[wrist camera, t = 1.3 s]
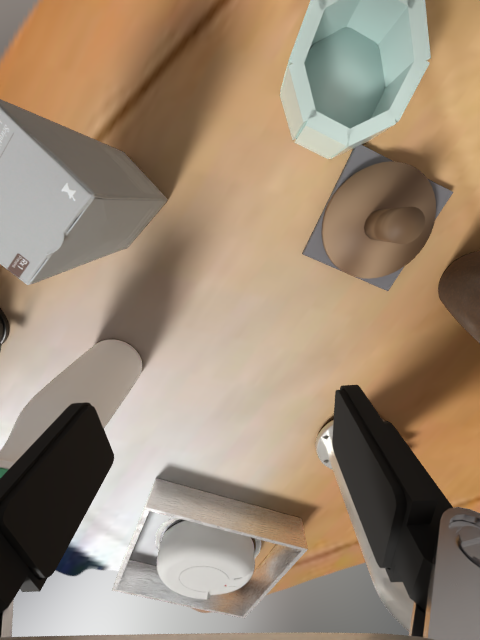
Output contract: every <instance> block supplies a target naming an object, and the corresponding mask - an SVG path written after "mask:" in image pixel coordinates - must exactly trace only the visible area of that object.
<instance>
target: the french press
mask: <svg viewBox="0 0 480 640" xmlns="http://www.w3.org/2000/svg"><path fill="white" fill-rule="evenodd" d="M8 334H9V326H8V321H7V319H6V316H5V315H4V313H3V311H2V310H1V308H0V351H1V345H2V344H3V343H4V342H5V341H6V339H7V337H8Z"/></svg>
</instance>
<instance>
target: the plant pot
mask: <svg viewBox="0 0 480 640" xmlns="http://www.w3.org/2000/svg"><path fill="white" fill-rule="evenodd" d="M438 292H439V297H440V300H441V301H442V303H443V304H444V305H445V307H446V308H447V309H448V311H449V312H450V313H451V314H452V316H453V317H454V318H455V319H456V320H457V321H458V322H459V323H460V324H461V326H462V327H463V328H464V329H465V330H466V331H467V332H468V333H469V334H470V335H471V336H472V337H473V338H474V339H475V340H477V341H478V342H479V343H480V251H476V252H473V253H469V254H467V255H464V256H462V257H460V258H459V259H457V260H456V261H454V262H453V263H452V264H451V265H450V266H449V267H448V268H447V269H446V271H445V272H444V273H443V275H442V277H441V279H440V282H439V287H438Z"/></svg>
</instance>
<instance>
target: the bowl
mask: <svg viewBox="0 0 480 640" xmlns="http://www.w3.org/2000/svg"><path fill="white" fill-rule="evenodd" d="M430 58H431V55H430V45H429V35H428V25H427V15H426V5H425V0H310V3H309V6H308V9H307V12H306V14H305V17H304V20H303V23H302V25H301V28H300V31H299V34H298V36H297V39H296V42H295V45H294V48H293V50H292V53H291V56H290V59H289V61H288V65H287V69H286V72H285V76H284V79H283V83H282V87H281V90H280V92H281V93H280V98H281V101H282V105H283V108H284V112H285V115H286V119H287V122H288V126H289V129H290V133H291V136H292V140H294V139H296V140H295V142H294V143H296V144H298V145H300V146H302V147H304V148H306V149H308V150H310V151H313V152H315V153H317V154H319V155H321V156H323V157H325V158H327V159H329V158H331V159H332V158H334V157H336V156H339V155H341V154H343V153H345V152H347V151H349V150H351V149H353V148H355V147H357V146H359V145H362V144H364V143H366V142H368V141H370V140H371V139H373V138H375V137H376V136H378V135H379V134H381V133H382V132H384V131H386V130H387V129H389V128H390V127H392V126H393V125H395V124H396V122H398V121H399V120H400V118H401V116H402V114H403V112H404V110H405V109H406V107H407V105H408V103H409V101H410V99H411V97H412V95H413V93H414V92H415V90H416V88H417V86H418V84H419V82H420V80H421V78H422V76H423V75H424V73H425V71H426V69H427V67H428V65H429V62H427V61H428V60H429V59H430Z"/></svg>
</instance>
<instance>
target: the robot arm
mask: <svg viewBox="0 0 480 640" xmlns="http://www.w3.org/2000/svg"><path fill="white" fill-rule="evenodd" d="M316 451H317V454H318V457H319V459H320V460H321V462H322V463H323V464H324V465H326V466H327V467H328V468H330V469H332V470H333V471H334V474H335V477H336V480H337V483H338V485H339V488H340V491H341V494H342V497H343V499H344V502H345V505H346V508H347V511H348V514H349V516H350V519H351V522H352V525H353V528H354V530H355V533H356V536H357V539H358V542H359V544H360V547H361V550H362V553H363V556H364V559H365V561H366V564H367V567H368V569H369V573H370V575H371V578H372V581H373V584H374V586H375V589H376V591H377V593H378V595H379V597H380V599H381V600H382V602H383V603H384V605H385V606H386V608H387V609H388V610H389V612H390V613H391V614H392V616H393V617H394V618H395V619H396V620H397V621H398V622H399V623H400V624H401V625H402V626H403V627H404V628H405V629H406V630H408V631H409V636H404V635H393V634H378V633H377V634H375V633H221V634H220V633H211V634H145V635H90V636H89V635H86V636H85V635H84V636H45V637H44V636H41V637H12V618H13V599H14V597H15V596H16V594H17V592H18V591H19V589H21V591H22V592H32V591H40V590H41V588H42V587H43V585H44V583H45V581H46V579H47V578H48V577H49V576H51V575H52V574H53V572H54V571H55V569H56V568H57V566H58V564H59V562H60V560H61V559H62V557H63V555H64V553H65V551H66V549H67V547H68V546H69V544H70V542H71V540H72V538H73V536H74V534H75V533H76V531H77V529H78V527H79V525H80V523H81V521H82V520H83V518H84V516H85V514H86V512H87V510H88V508H89V507H90V505H91V503H92V501H93V499H94V497H95V496H96V494H97V492H98V490H99V488H100V486H101V484H102V483H103V481H104V479H105V477H106V475H107V473H108V471H109V470H110V468H111V466H112V464H113V461H114V454H113V451H112V449H111V446H110V444H109V441H108V439H107V436H106V434H105V431H104V429H103V426H102V424H101V421H100V419H99V416H98V414H97V411H96V409H95V407H94V406H92V405H91V404H90V403H88V402H84V403H73V404H71V405H69V406H68V407H67V408H66V409H65V410H64V411H63V412H62V414H61V415H60V416H59V417H58V418H57V419H56V420H55V421H54V422H53V423H52V424H51V425H50V426H49V427H48V428H47V429H46V430H45V432H44V433H43V434H42V435H41V436H40V437H39V438H38V439H37V440H36V441H35V442H34V443H33V444H32V445H31V446H30V447H29V448H28V450H27V451H26V452H25V453H24V454H23V455H22V456H21V457H20V458H19V459H18V460H17V461H16V462H15V463H14V464H13V465H12V466H11V468H10V469H9V470H8V471H7V472H6V473H5V474H4V475H3V476H2V477H1V478H0V640H480V513H477V512H475V511H472V510H470V509H465V508H459V507H456V508H453V507H452V505H451V504H450V503H449V501H448V500H447V499H446V497H445V496H444V494H443V493H442V492H441V490H440V489H439V488H438V486H437V485H436V483H435V482H434V481H433V479H432V478H431V477H430V475H429V474H428V472H427V471H426V470H425V468H424V467H423V466H422V464H421V463H420V461H419V460H418V459H417V457H416V456H415V455H414V453H413V452H412V450H411V449H410V448H409V446H408V445H407V444H406V442H405V441H404V439H403V438H402V437H401V435H400V434H399V433H398V431H397V430H396V428H395V427H394V426H393V425H392V424H391V423H390V422H388V421H385V420H383V419H382V418H381V417H380V415H379V414H378V413H377V411H376V410H375V408H374V407H373V405H372V404H371V403H370V401H369V400H368V398H367V397H366V395H365V394H364V392H363V391H362V390H361V388H360V387H359V386H358V385H346V386H341V388H340V390H336V394H335V408H334V420H332V421H331V422H329V423H328V424H327V425H326V426H324V427H323V429H322V430H321V431H320V432H319V434H318V436H317V439H316Z"/></svg>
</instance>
